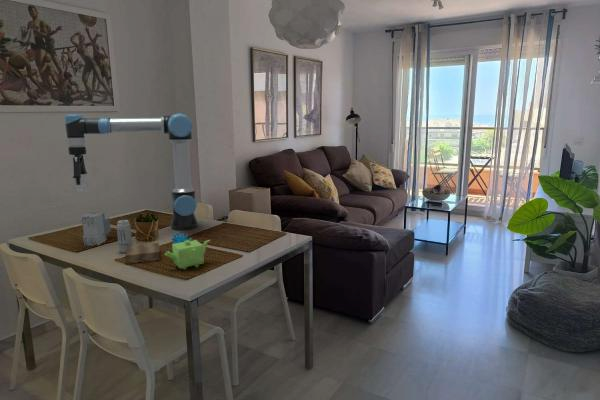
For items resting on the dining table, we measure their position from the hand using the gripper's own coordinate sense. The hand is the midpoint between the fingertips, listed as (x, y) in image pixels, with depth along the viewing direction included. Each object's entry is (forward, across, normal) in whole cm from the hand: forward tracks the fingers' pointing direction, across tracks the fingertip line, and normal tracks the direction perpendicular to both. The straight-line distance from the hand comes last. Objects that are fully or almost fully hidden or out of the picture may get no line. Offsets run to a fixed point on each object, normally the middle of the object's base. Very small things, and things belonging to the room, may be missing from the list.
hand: (81, 189), depth 205 cm
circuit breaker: (+28, 0, +5) cm, 29 cm away
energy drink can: (+28, +22, +19) cm, 41 cm away
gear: (+28, +27, +45) cm, 60 cm away
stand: (+28, +34, +27) cm, 52 cm away
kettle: (+28, +53, +47) cm, 76 cm away
